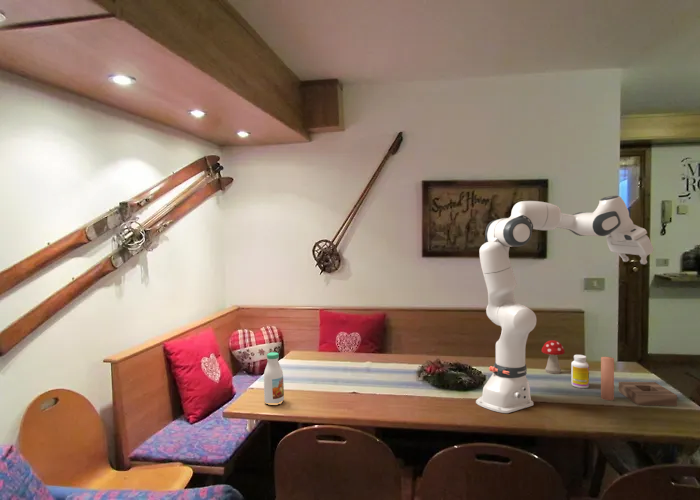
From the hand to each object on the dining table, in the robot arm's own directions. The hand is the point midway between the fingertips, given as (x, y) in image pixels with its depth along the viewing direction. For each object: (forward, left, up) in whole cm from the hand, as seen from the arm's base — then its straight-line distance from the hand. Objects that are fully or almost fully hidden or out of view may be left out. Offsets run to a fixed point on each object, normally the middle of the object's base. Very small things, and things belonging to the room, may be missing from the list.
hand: (635, 262), depth 182 cm
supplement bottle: (-14, +16, -53) cm, 57 cm away
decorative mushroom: (-5, +32, -53) cm, 62 cm away
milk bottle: (-120, +89, -53) cm, 159 cm away
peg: (-20, +3, -52) cm, 56 cm away
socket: (-9, -7, -52) cm, 54 cm away
